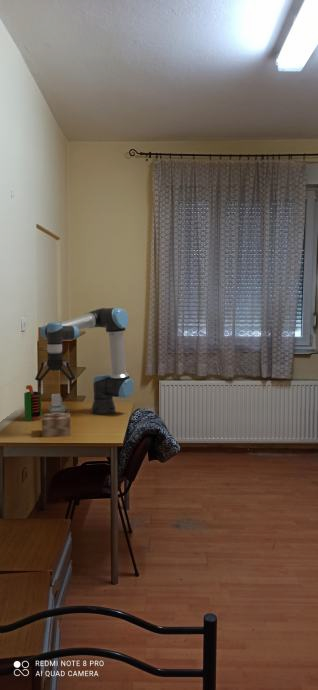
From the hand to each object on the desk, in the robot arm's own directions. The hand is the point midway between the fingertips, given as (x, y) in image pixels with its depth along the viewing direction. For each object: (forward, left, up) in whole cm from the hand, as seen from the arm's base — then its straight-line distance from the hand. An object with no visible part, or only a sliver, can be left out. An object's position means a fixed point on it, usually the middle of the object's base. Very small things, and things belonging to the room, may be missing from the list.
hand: (55, 393), depth 268 cm
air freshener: (+1, -49, -21) cm, 54 cm away
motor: (+15, -35, -21) cm, 44 cm away
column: (0, 0, -21) cm, 21 cm away
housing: (0, 0, -21) cm, 21 cm away
